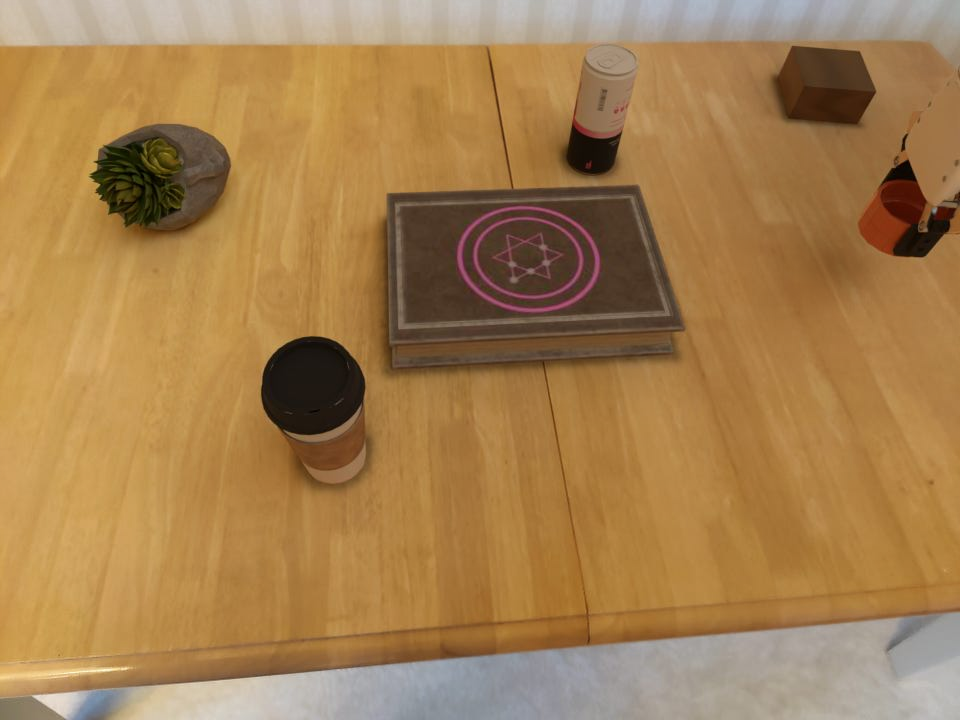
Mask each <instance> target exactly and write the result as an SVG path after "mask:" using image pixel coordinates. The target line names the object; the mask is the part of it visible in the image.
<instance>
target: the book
mask: <svg viewBox="0 0 960 720" xmlns="http://www.w3.org/2000/svg"><path fill="white" fill-rule="evenodd" d="M386 238H387V239H386V241H387V242H386V243H387V244H386V245H387V246H386V247H387V292H388V293H387V297H388V298H387V305H388V306H387V307H388V347H389V348H391V370H392V371H399V370H416V369H417V370H419V369H435V368H453V367H456V368H457V367H470V366H471V367H473V366H474V367H475V366H490V365H509V364H525V363H526V364H528V363H543V362H544V363H545V362H562V361H563V362H564V361H565V362H566V361H581V360H595V359H596V360H599V359H601V360H602V359H616V358H636V357H652V356H653V357H654V356H672V355H674V354H675V351H674V347H673V344H672V340H671V336H672V333H682V332H685V331H686V325H685V322H684V318H683V315H682V312H681V310H680V307H679V306H680V305H679V303H678V301H677V297H676V293H675V291H674V288H673V285H672V282H671V279H670V276H669V273H668V272H669V271H668V270H667V266H666V263H665V260H664V258H663V254H662V251H661V248H660V245H659V242H658V239H657V235H656V233H655V230H654V227H653V223H652V219H651V217H650V214H649V211H648V208H647V206H646V202H645V199H644V196H643V193H642V190H641V187H640V185H639V184H617V185H615V184H614V185H589V186H588V185H585V186H560V187H559V186H557V187H556V186H555V187H526V188H501V189H500V188H499V189H471V190H440V191H438V190H436V191H412V192H411V191H408V192H387V193H386Z"/></svg>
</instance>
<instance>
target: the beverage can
mask: <svg viewBox="0 0 960 720" xmlns="http://www.w3.org/2000/svg"><path fill="white" fill-rule="evenodd" d="M638 72H639V57H638V55H637V53H635V52H634V51H633V50H632V49H630V48H629V47H627V46H626V45H625V46H624V45H621V44H619V43H613V42H603V43H597V44H594V45H593V46H590V47H589V48H588V49H587V50H586V52H585V55H584V57H583V59H582V64H581V69H580V75H579V82H578V87H577V93H576V97H575V105H574V110H573V115H572V121H571V126H570V133H569V138H568V144H567V150H566V161H567V163H568V164H569V166H570V167H572V168H573V169H574V170H575V171H577V172H579V173H582V174H585V175H593V176H595V175H602V174H604V173H607V172H608V171H610V170H611V169H612V168H614V165H615V162H616V159H617V154H618V151H619V146H620V142H621V138H622V134H623V130H624V127H625V123H626V119H627V115H628V111H629V107H630V103H631V98H632V96H633V91H634V88H635V87H634V86H635V82H636V79H637V76H638Z"/></svg>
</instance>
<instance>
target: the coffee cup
mask: <svg viewBox="0 0 960 720" xmlns="http://www.w3.org/2000/svg"><path fill="white" fill-rule="evenodd" d="M260 386H261V387H260V398H261V404H262V408H263V410H264V412H265V414H266V416H267V418H268V419H269V420H270V421H271V423H273V425H275V426H276V428H277V429H278V430H279V432H280V433H281V435H282V436H283V438H284V439H285V440H286V442H287V443H288V444H289V446H290V447H291V449H292V450H293V452H294V453H295V454H296V456H297V457H298V459H299V460H300V461H301V463H302V464H303V466H304V468H305V469H306V471H307V472H308V473H309V474H310V475H311V477H312V478H314V479H315V480H316V481H319V482H321V483H324V484H333V485H334V484H341V483H345V482H347V481H349V480H350V479H352V478H354V477H355V476H357V474H359V472H360V471H361V469H362V468H363V466H364V464H365V461H366V459H367V458H366V457H367V447H366V446H367V445H366V411H365V406H366V405H365V394H366V378H365V375H364V373H363V370H362V368H361V366H360V364H359V363H358V361H357V360H356V359H355V358H354V357H353V355H352V354H351V353H350V352H349V350H347V348H346V347H344V345H342V344H341V343H340V342H338V341H336V340H334V339H332V338H329V337H325V336H319V335H308V336H302V337H299V338H295V339H293V340H291V341H288V342H286V343H284V344H283V345H282V346H280V347H279V348H278V349H276V350H275V352H273V353H272V355H271V356H270V357H269V359H268V360H267V361H266V364H265V366H264V369H263V373H262V377H261V385H260Z"/></svg>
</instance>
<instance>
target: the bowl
mask: <svg viewBox="0 0 960 720" xmlns="http://www.w3.org/2000/svg"><path fill="white" fill-rule="evenodd" d="M879 186H880V185H879ZM879 186H878V188H877V189H878V190H877V189H876V190H875V192H876V193H875V192H874V193H875V194H873V196H871V198H870V200H869V201H868V203H867V205H866V206H865V207H864V209H863V211H862V212H861V213H860V215H859V217H858V220H857V228H858V231H859V234H860V235H861V237H862V238H863V239H864V240H865V242H866V243H867V244H869V245H870V246H872V247H873V248H874V249H876V250H877V251H879V252H880V253H883V254H885V255H888V256H892V257H895V258H896V257H897V258H906V257H905V256H895V255H894V254H893V249H894V247H895V246H896V244H897V243H898V242H899V240H900V239H901V238H902V237H903V235H904V234H905V233H906V231H907V230H908V229H909V227H910V226H911V225H912V224H914V223H919V221H920V218H921V216H922V213H923V210H924V207H925V205H926V202H927V200H926V199H925V197H924V195H923V193H922V191H921V189H920V186H919V184H918V182H915V181H912V180H900V179H897V180H893V181H888V182H885V183H884V184H883V185H882V186H880V187H879ZM947 211H948V208H947V207H938V209H937V211H936V214H935V217H934V219H933V220H944V218H945V216H946V213H947Z"/></svg>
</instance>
